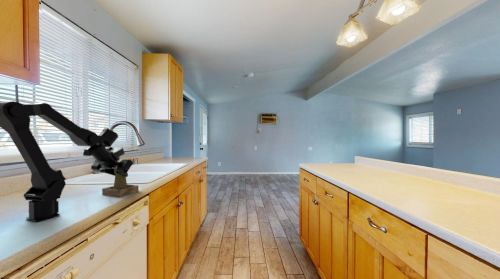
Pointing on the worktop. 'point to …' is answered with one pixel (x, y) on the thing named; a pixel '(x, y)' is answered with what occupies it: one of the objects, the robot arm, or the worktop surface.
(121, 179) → the cork
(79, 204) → the worktop surface
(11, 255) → the worktop surface
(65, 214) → the worktop surface
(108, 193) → the slot holder
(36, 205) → the robot arm
